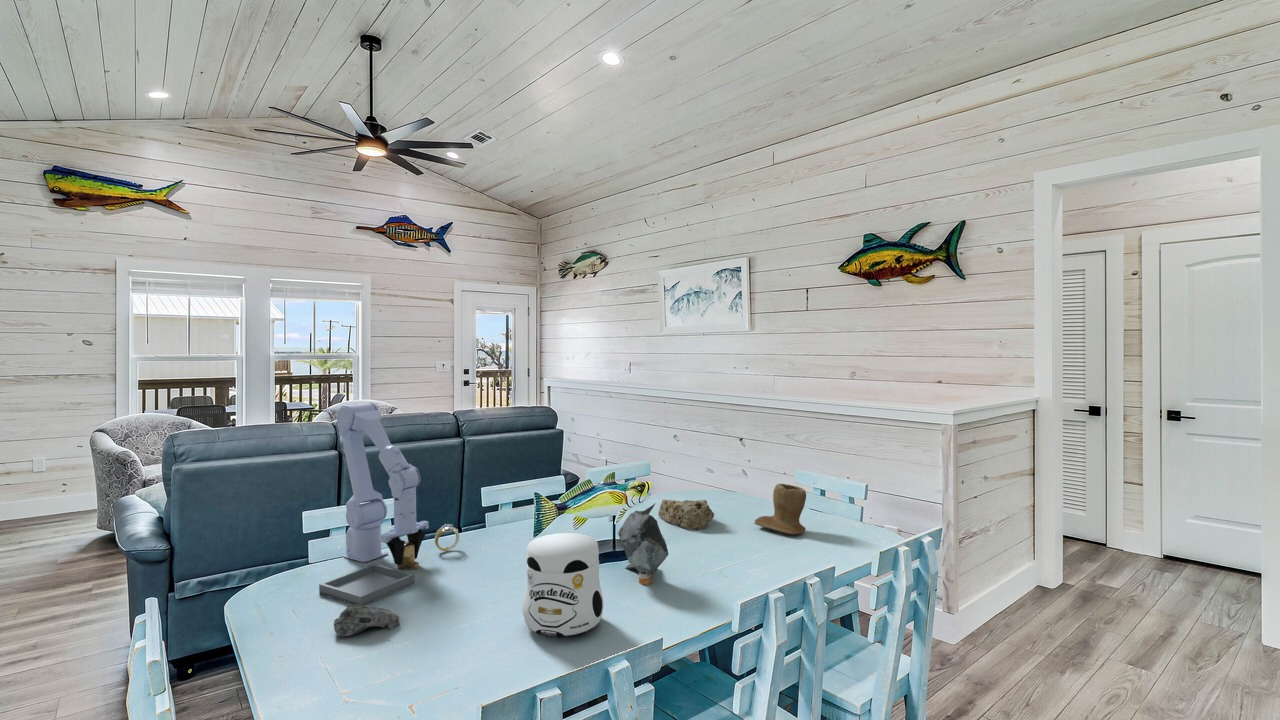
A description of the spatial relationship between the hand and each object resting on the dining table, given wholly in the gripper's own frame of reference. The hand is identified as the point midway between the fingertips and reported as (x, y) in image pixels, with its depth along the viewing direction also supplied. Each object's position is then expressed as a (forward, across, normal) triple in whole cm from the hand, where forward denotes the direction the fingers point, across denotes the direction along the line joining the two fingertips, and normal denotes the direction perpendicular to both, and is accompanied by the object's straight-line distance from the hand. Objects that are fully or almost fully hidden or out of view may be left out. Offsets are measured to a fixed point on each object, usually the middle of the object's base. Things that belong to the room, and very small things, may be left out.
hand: (406, 561), depth 167 cm
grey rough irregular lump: (+2, -29, -22) cm, 36 cm away
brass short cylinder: (+1, 0, 0) cm, 1 cm away
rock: (+2, +74, -52) cm, 90 cm away
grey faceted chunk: (+2, +23, -62) cm, 66 cm away
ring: (+2, +14, -1) cm, 14 cm away
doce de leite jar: (+2, -8, -59) cm, 60 cm away
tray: (+1, -15, -4) cm, 16 cm away
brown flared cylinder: (+2, +80, -83) cm, 115 cm away
